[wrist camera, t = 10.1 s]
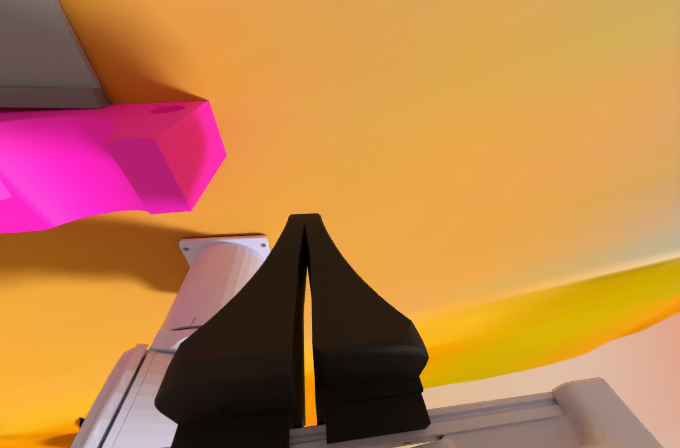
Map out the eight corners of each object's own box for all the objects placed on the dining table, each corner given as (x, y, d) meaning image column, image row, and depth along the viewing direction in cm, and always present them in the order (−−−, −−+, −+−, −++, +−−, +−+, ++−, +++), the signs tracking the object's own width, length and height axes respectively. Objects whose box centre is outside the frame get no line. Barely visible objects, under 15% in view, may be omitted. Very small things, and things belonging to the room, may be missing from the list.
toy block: (37, 197, 18) (-85, 272, 13) (-45, 110, 15) (-277, 161, 9) (236, 183, 20) (208, 245, 14) (209, 99, 16) (154, 137, 10)
